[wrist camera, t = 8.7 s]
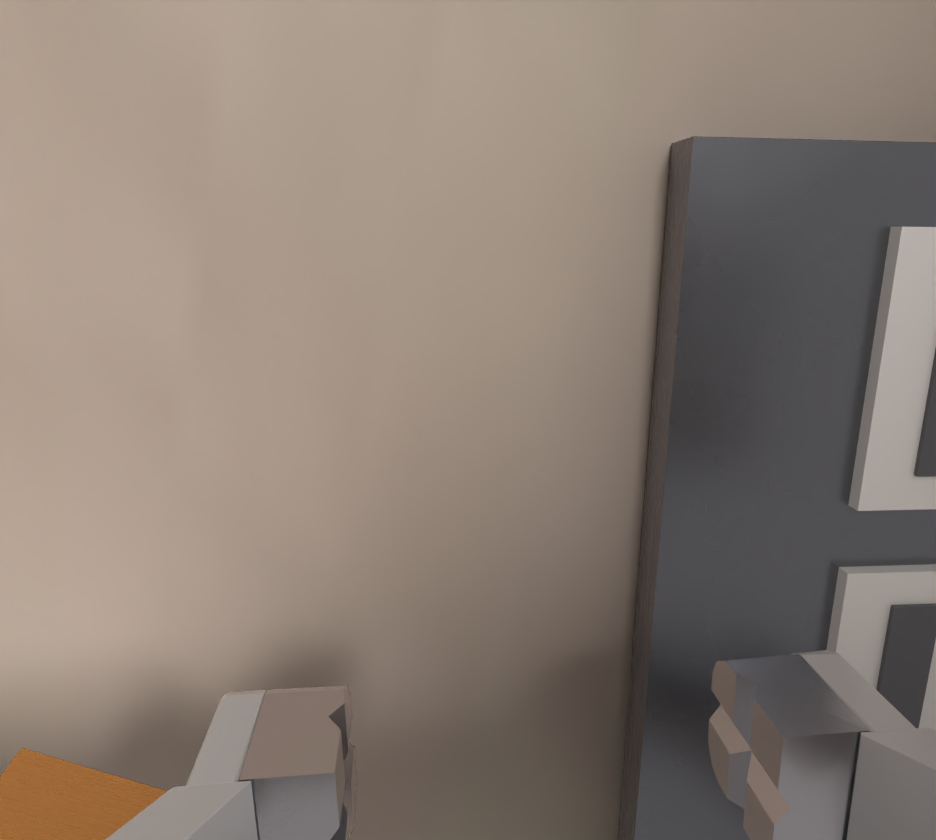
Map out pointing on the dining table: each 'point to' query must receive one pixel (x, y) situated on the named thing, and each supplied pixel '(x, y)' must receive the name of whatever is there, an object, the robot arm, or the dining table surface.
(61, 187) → the dining table surface
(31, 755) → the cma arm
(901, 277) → the label plate
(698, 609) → the chassis plate
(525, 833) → the dining table surface
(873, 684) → the plate
